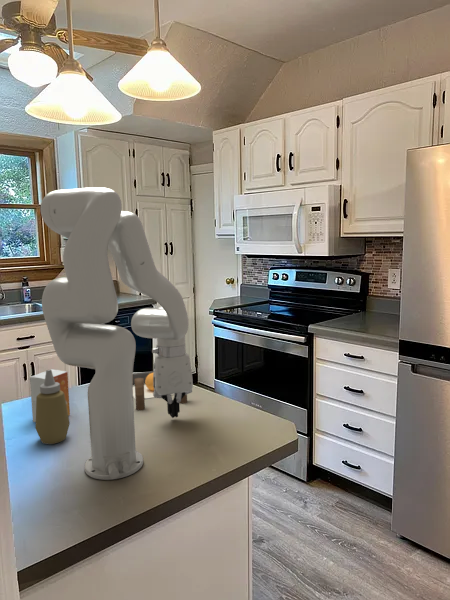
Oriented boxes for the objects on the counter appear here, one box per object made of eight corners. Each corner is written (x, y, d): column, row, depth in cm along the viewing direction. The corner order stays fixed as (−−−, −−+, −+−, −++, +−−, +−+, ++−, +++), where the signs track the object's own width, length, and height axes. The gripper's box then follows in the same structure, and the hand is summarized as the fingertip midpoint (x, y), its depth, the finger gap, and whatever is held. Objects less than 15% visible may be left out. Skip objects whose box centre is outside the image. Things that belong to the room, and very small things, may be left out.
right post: (188, 402, 140) (187, 374, 139) (180, 404, 139) (179, 375, 138) (185, 399, 143) (184, 371, 141) (177, 401, 142) (176, 372, 140)
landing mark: (175, 394, 148) (175, 393, 148) (135, 400, 143) (135, 399, 143) (165, 382, 160) (165, 382, 160) (127, 387, 155) (127, 387, 155)
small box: (49, 425, 125) (46, 379, 123) (32, 422, 127) (28, 376, 126) (70, 415, 132) (68, 371, 130) (54, 411, 135) (51, 368, 133)
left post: (145, 409, 135) (144, 379, 134) (136, 410, 134) (135, 380, 133) (143, 406, 138) (142, 377, 136) (135, 407, 137) (133, 378, 135)
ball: (161, 373, 156) (163, 390, 154) (143, 375, 154) (145, 393, 153) (163, 370, 150) (165, 388, 149) (145, 372, 149) (147, 390, 147)
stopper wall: (159, 381, 162) (159, 371, 161) (130, 385, 158) (130, 375, 157) (158, 379, 163) (158, 370, 163) (130, 383, 159) (129, 373, 159)
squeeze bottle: (43, 450, 110) (37, 377, 108) (31, 439, 116) (26, 370, 114) (75, 440, 116) (71, 370, 113) (63, 430, 122) (58, 364, 119)
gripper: (147, 357, 118) (149, 425, 120) (202, 350, 123) (204, 416, 126) (141, 350, 124) (143, 415, 127) (193, 344, 130) (195, 407, 132)
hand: (173, 415), depth 126 cm, fingers closed
